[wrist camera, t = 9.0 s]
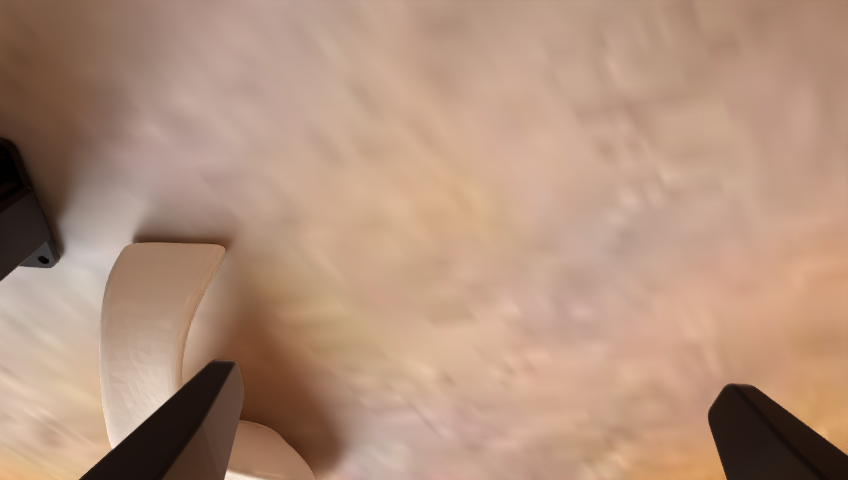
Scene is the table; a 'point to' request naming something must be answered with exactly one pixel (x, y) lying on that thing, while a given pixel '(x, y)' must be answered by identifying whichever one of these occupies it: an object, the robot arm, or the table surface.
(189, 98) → the table surface
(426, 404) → the table surface
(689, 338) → the table surface
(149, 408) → the spoon rest
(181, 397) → the robot arm
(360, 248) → the table surface
